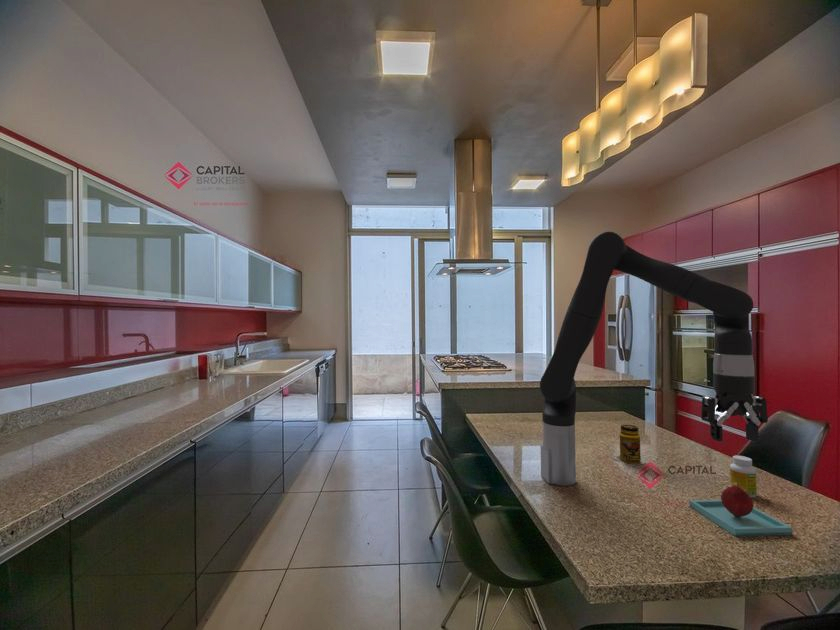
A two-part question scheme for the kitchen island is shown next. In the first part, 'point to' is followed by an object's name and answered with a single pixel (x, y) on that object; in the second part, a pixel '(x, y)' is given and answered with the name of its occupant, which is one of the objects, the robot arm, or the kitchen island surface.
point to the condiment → (629, 446)
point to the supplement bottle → (743, 475)
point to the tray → (740, 520)
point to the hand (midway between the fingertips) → (734, 440)
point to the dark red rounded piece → (737, 501)
